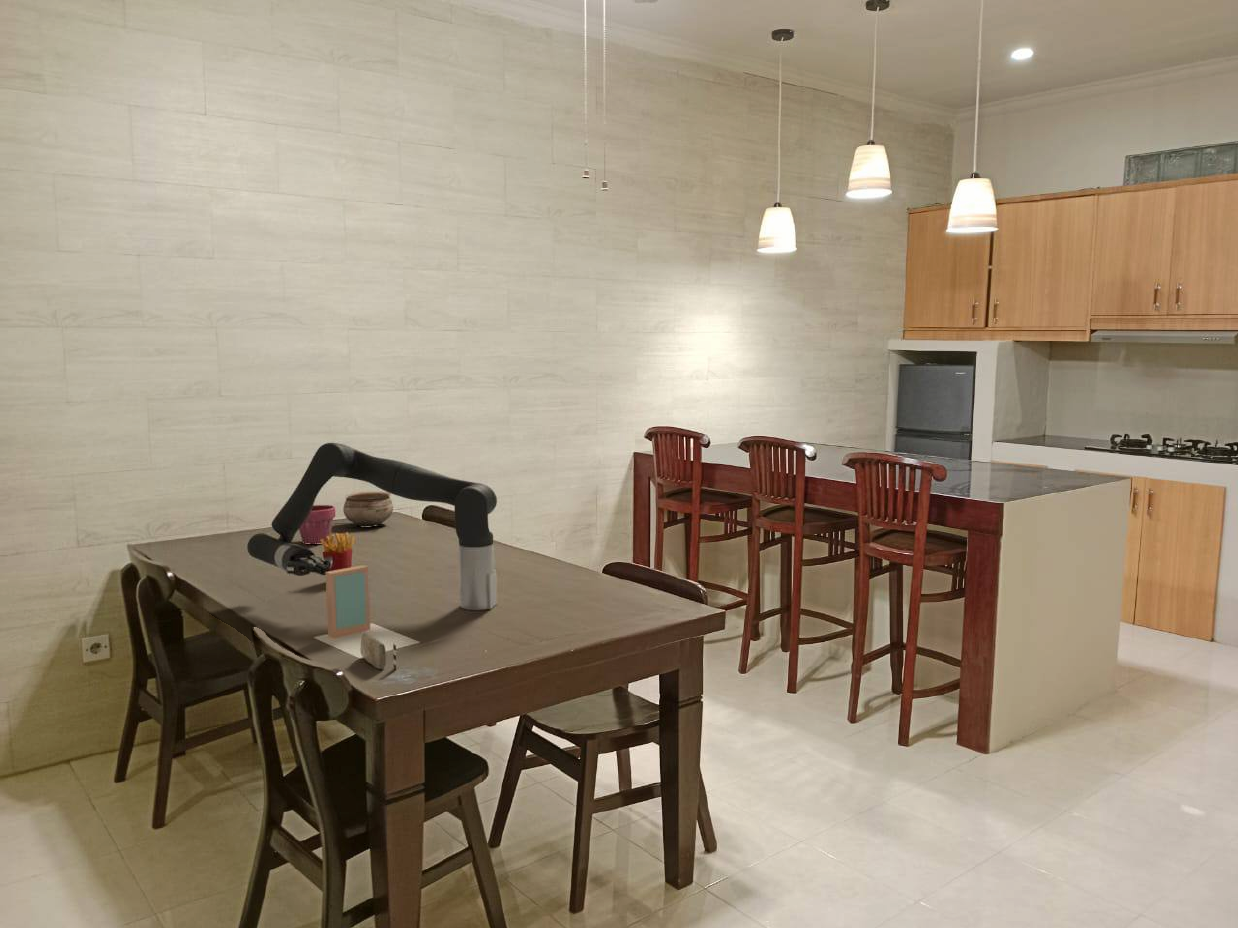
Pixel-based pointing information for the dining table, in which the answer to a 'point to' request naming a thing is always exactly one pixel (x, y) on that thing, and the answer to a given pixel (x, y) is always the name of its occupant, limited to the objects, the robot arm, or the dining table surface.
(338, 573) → the tile
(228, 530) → the dining table surface
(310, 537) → the plant pot
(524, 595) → the dining table surface
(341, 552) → the french fries
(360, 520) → the cooking pot
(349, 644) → the mat
